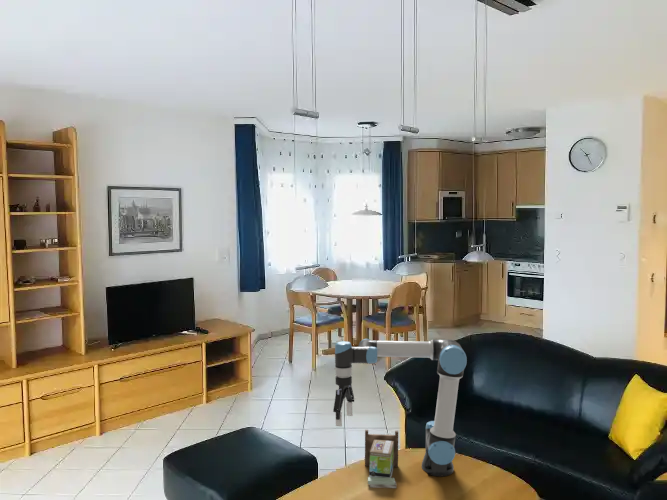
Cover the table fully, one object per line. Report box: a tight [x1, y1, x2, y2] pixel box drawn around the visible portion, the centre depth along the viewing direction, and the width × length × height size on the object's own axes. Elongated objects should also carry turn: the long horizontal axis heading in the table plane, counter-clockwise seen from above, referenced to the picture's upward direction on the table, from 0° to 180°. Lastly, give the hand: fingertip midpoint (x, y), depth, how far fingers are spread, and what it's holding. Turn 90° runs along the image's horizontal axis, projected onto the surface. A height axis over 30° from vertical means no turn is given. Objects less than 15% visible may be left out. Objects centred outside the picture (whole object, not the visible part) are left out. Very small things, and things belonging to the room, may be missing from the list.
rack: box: [364, 429, 399, 468], centre depth 269 cm, size 16×2×18 cm, turn 85°
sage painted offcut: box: [367, 476, 396, 485], centre depth 250 cm, size 12×4×2 cm, turn 87°
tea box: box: [368, 439, 394, 478], centre depth 260 cm, size 15×10×15 cm, turn 168°
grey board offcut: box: [369, 480, 398, 489], centre depth 250 cm, size 12×4×2 cm, turn 86°
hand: (344, 420), depth 256 cm, fingers open, 13 cm apart
